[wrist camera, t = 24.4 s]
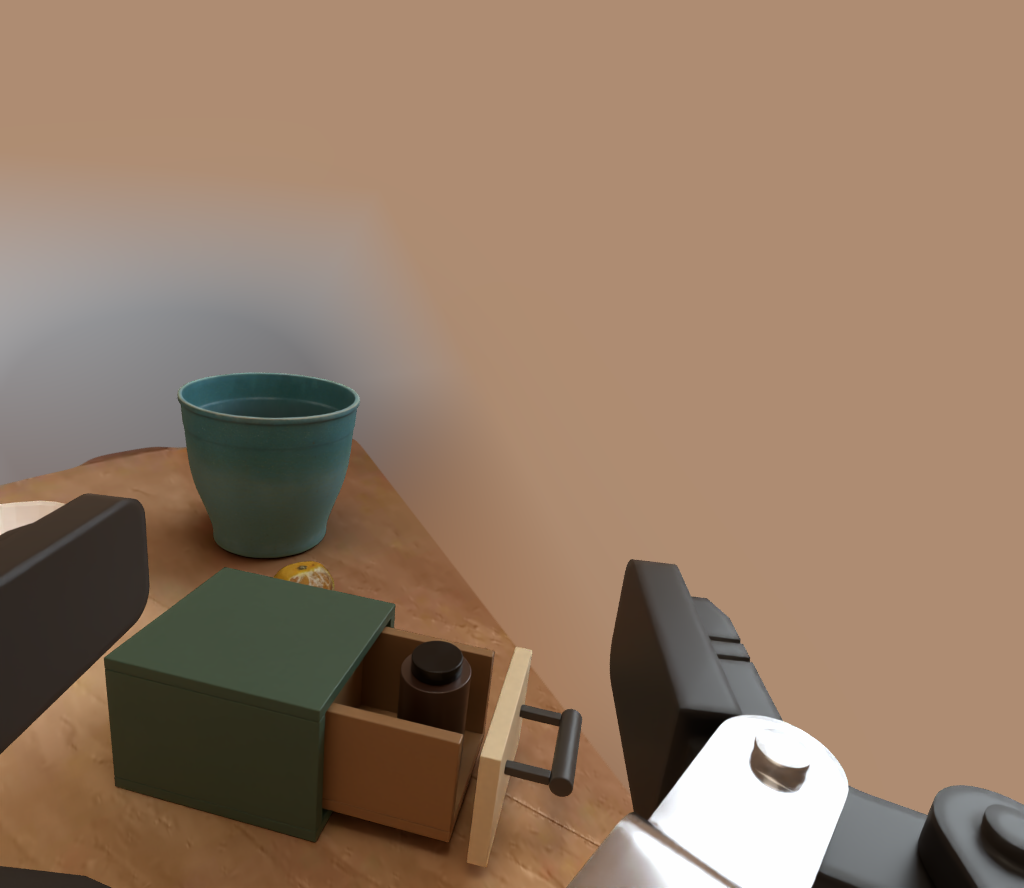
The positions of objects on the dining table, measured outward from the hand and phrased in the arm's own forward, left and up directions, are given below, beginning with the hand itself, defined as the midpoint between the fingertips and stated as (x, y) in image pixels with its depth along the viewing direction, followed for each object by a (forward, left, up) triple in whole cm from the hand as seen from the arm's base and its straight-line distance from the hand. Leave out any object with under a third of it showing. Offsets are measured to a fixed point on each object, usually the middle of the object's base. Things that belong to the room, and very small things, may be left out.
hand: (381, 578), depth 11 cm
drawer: (+4, -24, -29) cm, 38 cm away
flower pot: (+33, -52, -30) cm, 69 cm away
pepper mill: (+5, -24, -28) cm, 37 cm away
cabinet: (+17, -24, -30) cm, 42 cm away
